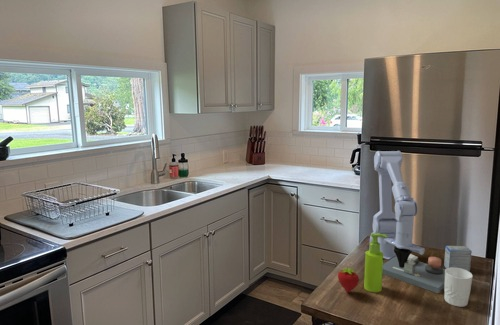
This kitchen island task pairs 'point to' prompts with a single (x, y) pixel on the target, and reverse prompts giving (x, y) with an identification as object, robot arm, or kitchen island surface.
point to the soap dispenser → (374, 265)
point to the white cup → (457, 286)
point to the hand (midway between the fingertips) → (402, 266)
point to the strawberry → (348, 279)
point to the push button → (434, 262)
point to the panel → (417, 275)
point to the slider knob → (409, 267)
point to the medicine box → (457, 257)
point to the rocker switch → (412, 258)
